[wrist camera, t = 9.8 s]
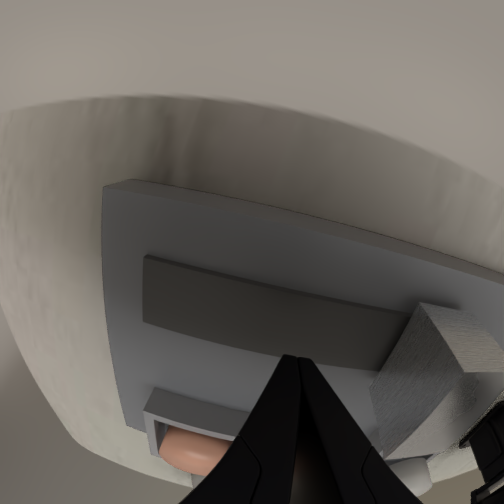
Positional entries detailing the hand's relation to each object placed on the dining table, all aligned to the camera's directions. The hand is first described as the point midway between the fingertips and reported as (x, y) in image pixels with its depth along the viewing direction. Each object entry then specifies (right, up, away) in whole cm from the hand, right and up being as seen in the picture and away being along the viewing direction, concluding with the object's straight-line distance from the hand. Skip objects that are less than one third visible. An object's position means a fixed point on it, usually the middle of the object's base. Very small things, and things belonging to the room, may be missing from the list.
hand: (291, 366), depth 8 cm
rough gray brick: (+6, -1, +2) cm, 6 cm away
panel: (+3, -3, +6) cm, 7 cm away
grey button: (+8, -10, +3) cm, 13 cm away
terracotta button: (-4, -7, +5) cm, 9 cm away
